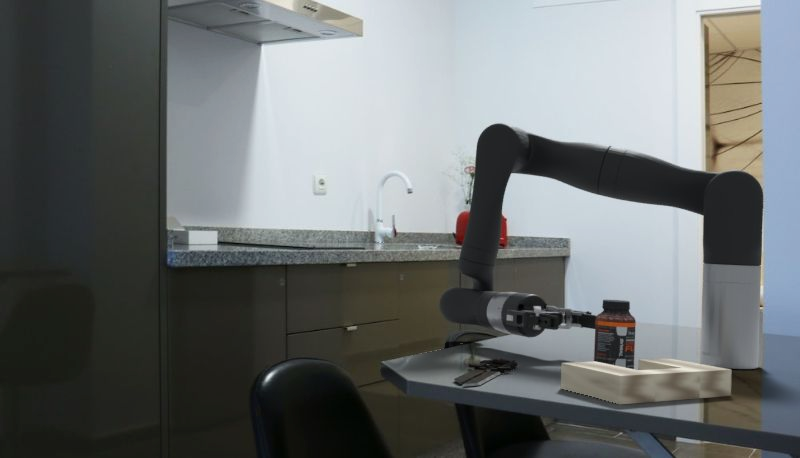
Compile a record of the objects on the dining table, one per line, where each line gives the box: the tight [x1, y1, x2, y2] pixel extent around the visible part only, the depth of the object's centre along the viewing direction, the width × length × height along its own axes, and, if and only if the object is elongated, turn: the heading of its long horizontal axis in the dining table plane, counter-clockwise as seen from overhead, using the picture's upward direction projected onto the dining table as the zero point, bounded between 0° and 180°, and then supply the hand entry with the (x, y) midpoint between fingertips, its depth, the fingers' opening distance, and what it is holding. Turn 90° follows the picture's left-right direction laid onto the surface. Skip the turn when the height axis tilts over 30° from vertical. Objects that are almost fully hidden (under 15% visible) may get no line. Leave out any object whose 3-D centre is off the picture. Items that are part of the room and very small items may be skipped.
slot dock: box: [560, 357, 733, 405], centre depth 112 cm, size 20×11×4 cm, turn 119°
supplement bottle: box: [593, 299, 637, 369], centre depth 127 cm, size 6×6×11 cm
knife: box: [453, 358, 518, 388], centre depth 122 cm, size 25×6×1 cm, turn 154°
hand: (577, 322), depth 135 cm, fingers open, 8 cm apart
